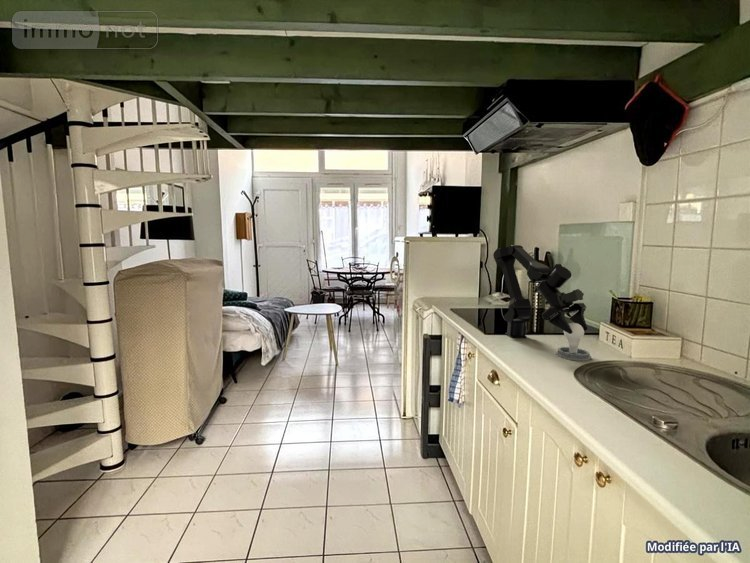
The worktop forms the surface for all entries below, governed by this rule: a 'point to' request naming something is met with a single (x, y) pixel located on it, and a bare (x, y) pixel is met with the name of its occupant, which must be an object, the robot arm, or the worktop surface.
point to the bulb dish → (579, 356)
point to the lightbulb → (574, 337)
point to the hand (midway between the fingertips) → (579, 331)
